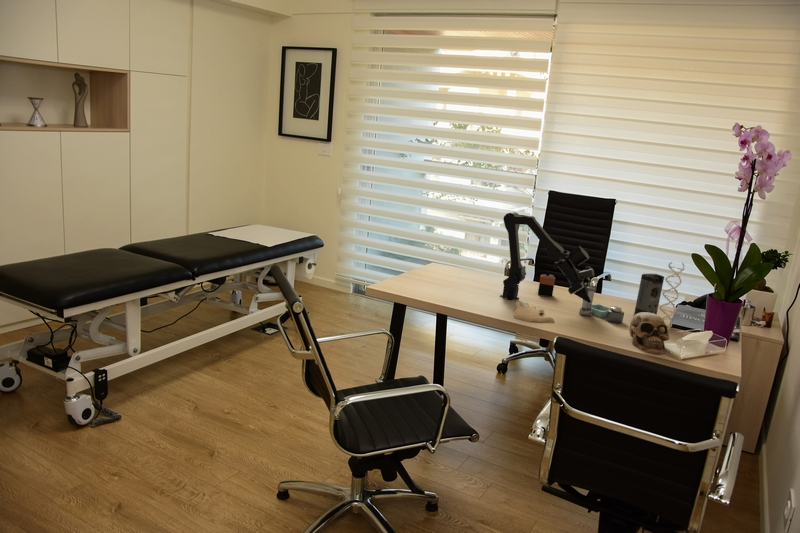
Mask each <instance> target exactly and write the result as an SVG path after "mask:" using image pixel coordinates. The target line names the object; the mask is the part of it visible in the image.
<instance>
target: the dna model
mask: <svg viewBox="0 0 800 533" xmlns="http://www.w3.org/2000/svg"><path fill="white" fill-rule="evenodd" d="M671 264H673V261H672V262H669V263H668V265H667V266H668V268H669V270H670V271H672V272H673V273H674V274H672V275H668V276H667V277H665V278H664V282H666V283H667V285H669V286H670V287H671V288H669V289H667V290H666V289H665V290H664V291H663V292H662V297H664V298H665V299H666V300H667V301H668V302H666V303H664V304H662V305H660V306H659V310H660V311H662V313H663V314H664V315H665V316H663V317H662V318H663V320H664V321H665V319H668V320H669V321H670V325H667V324H665V325H666V326H667V328H668V329H667V330H670V329H671V328H672V326H673V320H672V318H671V316H673V315H674V314H675V313H676V306H675V303H674V302H676V301H677V300H678V298H679V292H678V289H677V288H678V287H679V286H680V285H681V284H682V279H681V276H680V275H679V274H680V273H682V272H683V271H685V263H684V262H683V261H682V262H681V264H682V268H679V267H677V270H680V271H675V270H674V269H676V267H675V266H671ZM670 278H678V279H679V283H678V282H675V281H674V282H673V281H671V280H668V279H670ZM671 283H674V284H676V285H675V286H673V285H672V284H671ZM670 291H674V292H675V294H676V297H675V296H669V295H667V294H665V293H666V292H670ZM669 298H672V299H673V300H670V299H669ZM668 305H671V306H672V307H673V311H670V310H666V309H664V308H662V307H664V306H668ZM666 311H667V312H670V314H668V313H666Z"/></svg>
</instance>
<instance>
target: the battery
mask: <svg viewBox="0 0 800 533" xmlns="http://www.w3.org/2000/svg"><path fill="white" fill-rule="evenodd" d="M555 281H556V277H555V276H554V275H553V274H549V275H547V274H543V273H542V274H540V278H539V282H538V283H539V284H538V290H537V295H538V296H544V297H548V298H549V297H550V298H552V297H553V294H554V288H555Z"/></svg>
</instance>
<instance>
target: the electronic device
mask: <svg viewBox="0 0 800 533" xmlns="http://www.w3.org/2000/svg"><path fill="white" fill-rule="evenodd" d="M664 282H665V276H663V275H661V274H658V273H642V274H641V277H640V282H639V288H638V293H637V298H636V303H635V308H634V312H633V316H634V315H636V314H637V313H640V312H648V313H654V314H656V315H658V309H659V305H660V299H661V295H662V290H663V285H664Z"/></svg>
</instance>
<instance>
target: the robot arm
mask: <svg viewBox="0 0 800 533" xmlns="http://www.w3.org/2000/svg"><path fill="white" fill-rule="evenodd" d="M503 223H504V228H505V229H506V231H507V235H508V237H507V238H508V247H509V257H510V267H509V271H508V277H506V278H505V279H504V280H503V281H502V283H503V290H502V294H500V295H499V296H500V297H501V298H504V299H506V300H509V301H510V300H519V299H520V297H518V296H519V290H520V288H519V286H520V284H521V282H522V281H524V280H525V279H526V276H527V272H526V268H527V267H526V265H523V264H522V261H521V251H520V250H521V249H520V241H519V240H520V239H519V230H520V225H522V226H523V225H525V226H528V228H529V229H530V230H531V232H532V233H533V234H534V235H535V236H536V238H537V239H538V240H539V241H540V243H541V244H542V245H543V247H544V249H545V251H546V253H547V256H548V257H549V259H550V260H552V261H555V262H553V267H552V268H553V270H555V269H556V268H558V269H559V270H560V272H562V274H563V275H564V279H565V280H567V281H568V283H569V284H570V286H569V287H568V293H569V294H570V295H575V296H577V297H579V298H580V299H582V300H583V299H584V300H585V301H587V302H588V303H590V302H591V300H590V298H589V296H588V294H587V292H586V286H590V281H591V278H593V277H594V276H595V270H594V269H593V268H592V267H591V266H586V267H585V269H583V270H580V269H579V268H578V269H577V268H576V267H575V265H576V266H580V265H582V264H584V263H585V262H586V261H588V260H589V259H590V256H589V253H588V252H587V251H586V250H585V249H584V248H582V246H581V245H579V246H577V247H575V249H573V250H572V251H568V250H565V249H564V248H563V246H561V244H559V243H558V242H557V241H555V240H554V239H553V238H551V236H550V235H549V234H548V233H547V232H546V230H545V229H544V227H543V226H542V225H541V224H540V223H539V222H538V221H537V219H536V217H535V216H533V215H526V214H519V213H518V212H516V211H513V212H511V211H510V212H507V213H506V214H505V215H504V216H503Z"/></svg>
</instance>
